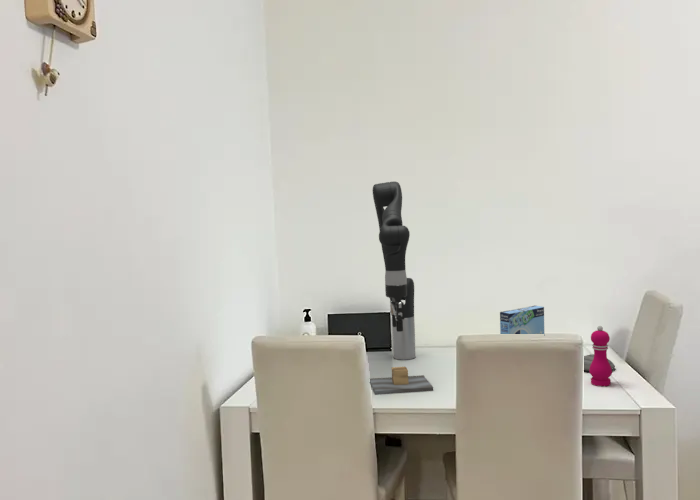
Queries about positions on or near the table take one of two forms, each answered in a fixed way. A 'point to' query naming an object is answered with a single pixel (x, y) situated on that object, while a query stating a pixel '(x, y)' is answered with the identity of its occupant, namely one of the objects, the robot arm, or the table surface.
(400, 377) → the oak cube
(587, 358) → the grey round bowl
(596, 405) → the table surface
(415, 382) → the slate board
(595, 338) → the pepper mill
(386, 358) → the table surface
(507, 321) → the gum box
